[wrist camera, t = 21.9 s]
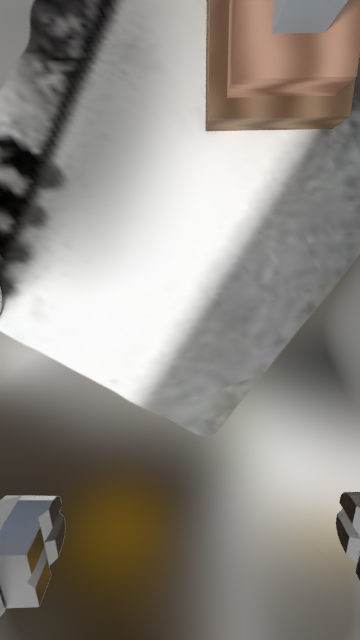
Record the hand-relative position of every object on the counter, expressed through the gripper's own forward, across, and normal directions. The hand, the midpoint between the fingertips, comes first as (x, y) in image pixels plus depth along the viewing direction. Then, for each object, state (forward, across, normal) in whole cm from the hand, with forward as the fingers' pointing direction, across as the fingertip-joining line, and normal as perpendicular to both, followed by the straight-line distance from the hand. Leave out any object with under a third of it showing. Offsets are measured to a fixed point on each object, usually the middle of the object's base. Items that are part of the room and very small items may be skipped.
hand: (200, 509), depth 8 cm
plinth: (+35, -11, -28) cm, 46 cm away
